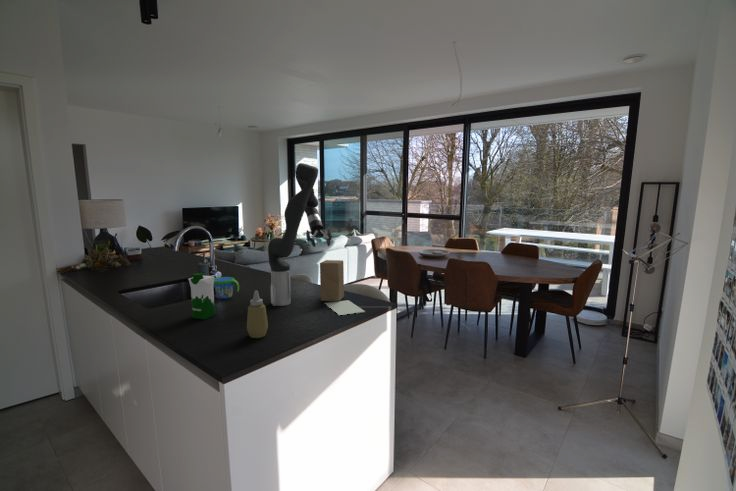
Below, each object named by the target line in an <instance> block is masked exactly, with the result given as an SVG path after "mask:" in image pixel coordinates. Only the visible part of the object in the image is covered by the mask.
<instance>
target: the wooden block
mask: <svg viewBox="0 0 736 491" xmlns="http://www.w3.org/2000/svg"><path fill="white" fill-rule="evenodd" d="M344 268H345V267H344V260H340V259H339V260H338V259H336V260H335V259H333V260H331V259H325V260H324V261H323V260H322V261H321V262H320V263H319V274H320V275H319V279H320V280H319V282H320V284H319V285H320V287H319V289H320V301H321V302H339V301H342V299H343V298H344V297H345V286H344V284H345V283H344V282H345V281H344V280H345V277H344V275H345V274H344Z"/></svg>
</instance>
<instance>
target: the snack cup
mask: <svg viewBox="0 0 736 491" xmlns="http://www.w3.org/2000/svg"><path fill="white" fill-rule="evenodd" d="M234 284H235V285H236V286H237V287H236V292H239V291H240V283H239V282H238V281H237V280H236V279H235V278H234V277H233V276H231V277H230V276H221V277H215V278H214V284H213V286H214V289H215V294H216V298H217V299H219V300H224V299H231V298H232V296H233V292H234Z"/></svg>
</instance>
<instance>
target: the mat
mask: <svg viewBox="0 0 736 491" xmlns="http://www.w3.org/2000/svg"><path fill="white" fill-rule="evenodd" d="M325 304H326V305H327V306H326V305H325ZM324 305H325V306H326V307H327V308H329V309H330V308H331V309H332V310H331V309H330V310H331V311H332V312H334V313H335V312H336V313H337V315H338V316H340V315H343V316H348V315H347V314H350V315H354V313H356V314H362V313H366V311H365V310H364V309H362V308H361V307H359V306H358V305H356V304H355V303H353V302H352V301H350V300H340V301H339V302H336V301H329V302H324ZM336 313H335V314H336ZM340 317H341V316H340Z"/></svg>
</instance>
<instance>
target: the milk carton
mask: <svg viewBox="0 0 736 491" xmlns="http://www.w3.org/2000/svg"><path fill="white" fill-rule="evenodd" d="M215 278H216V277H215V276H212V275H204V273H202V272H196V273H193V274H192V277H191V278H188V279H187V280H188V283H189V286H190V297H191V319H197V320H207V319H209V318H211V317H214V316H216V313H217V312H216V307H215V295H214V279H215Z"/></svg>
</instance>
